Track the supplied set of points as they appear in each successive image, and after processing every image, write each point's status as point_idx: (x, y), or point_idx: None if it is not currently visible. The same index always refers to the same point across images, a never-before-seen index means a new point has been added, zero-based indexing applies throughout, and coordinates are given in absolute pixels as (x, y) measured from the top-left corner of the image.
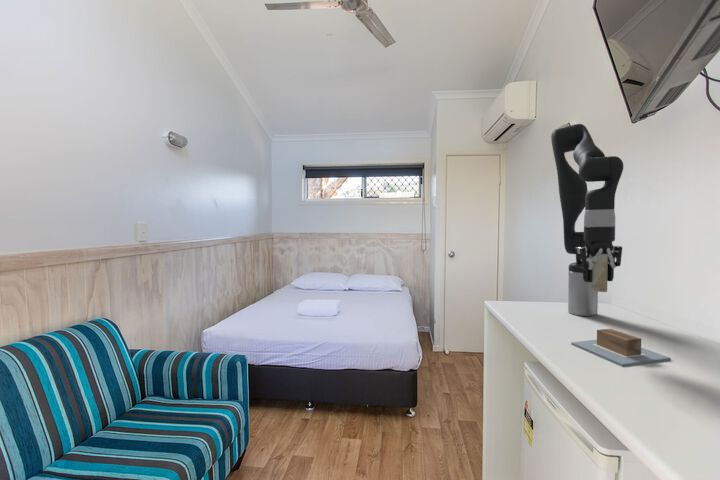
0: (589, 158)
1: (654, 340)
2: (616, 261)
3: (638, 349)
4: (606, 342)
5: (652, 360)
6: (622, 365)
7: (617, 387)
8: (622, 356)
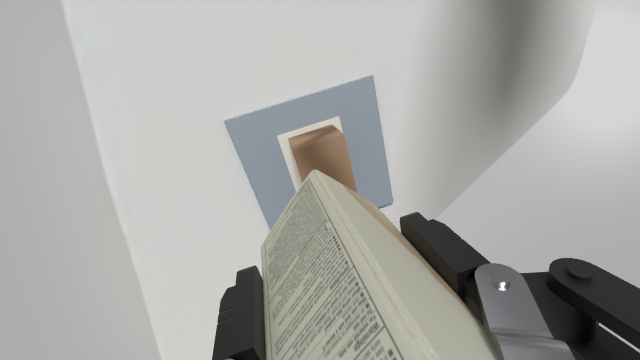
0: None
1: (464, 80)
2: (581, 358)
3: None
4: (298, 169)
5: None
6: None
7: (217, 314)
8: None
